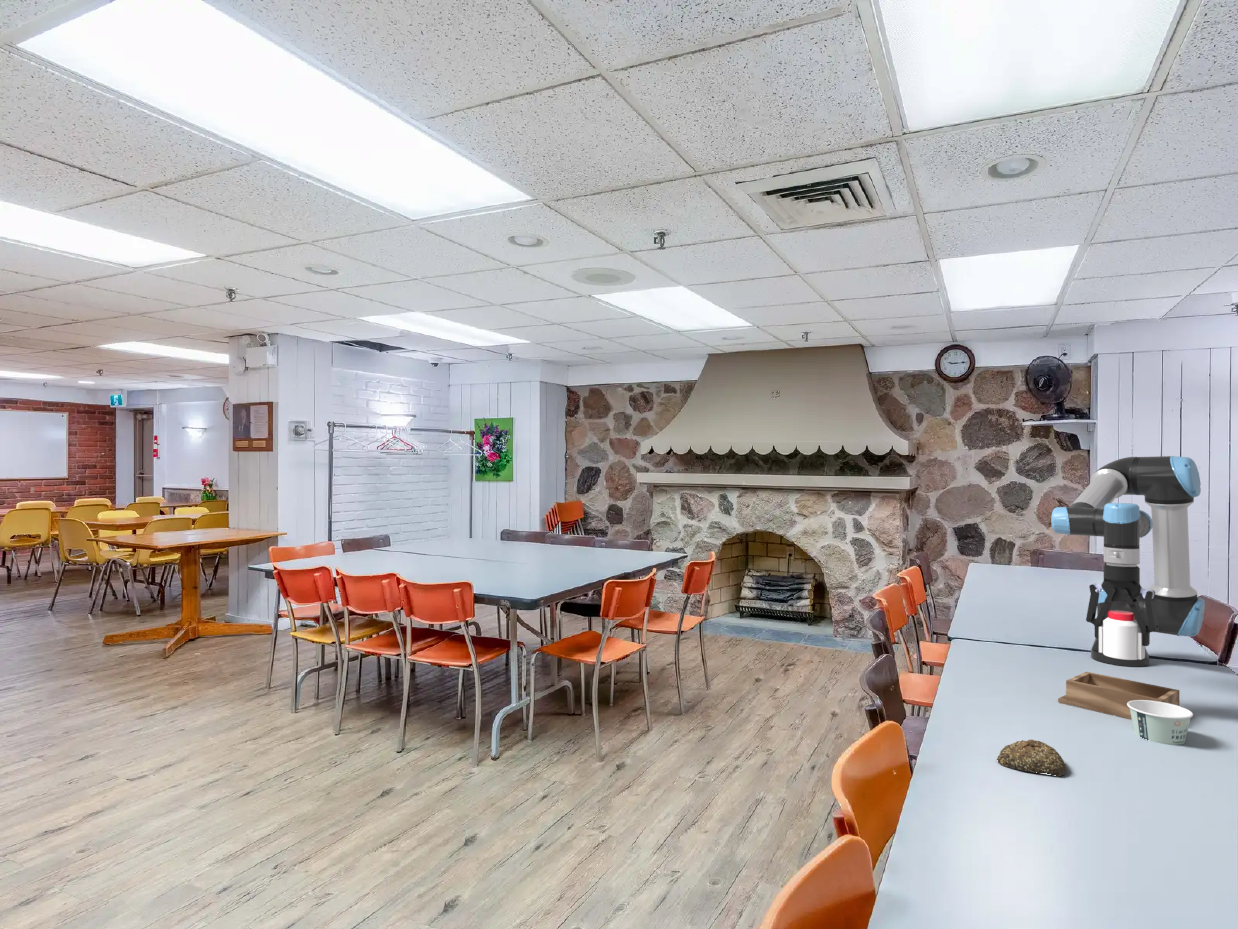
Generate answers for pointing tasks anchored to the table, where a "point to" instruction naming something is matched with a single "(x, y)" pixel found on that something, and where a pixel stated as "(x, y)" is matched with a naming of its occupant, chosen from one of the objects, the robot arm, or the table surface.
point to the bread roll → (1032, 757)
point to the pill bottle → (1120, 635)
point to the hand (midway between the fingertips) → (1121, 654)
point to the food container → (1160, 721)
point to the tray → (1112, 693)
